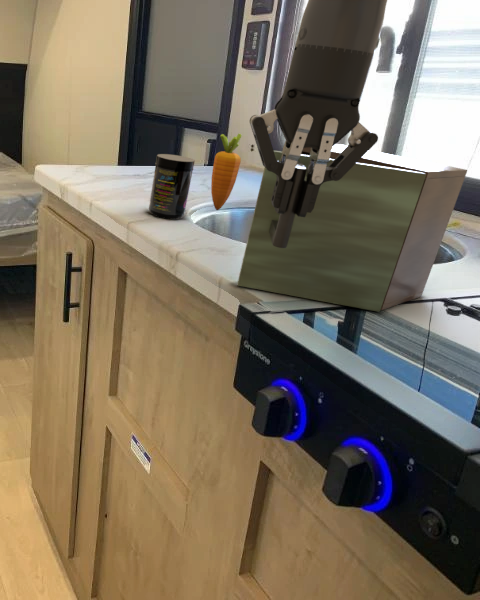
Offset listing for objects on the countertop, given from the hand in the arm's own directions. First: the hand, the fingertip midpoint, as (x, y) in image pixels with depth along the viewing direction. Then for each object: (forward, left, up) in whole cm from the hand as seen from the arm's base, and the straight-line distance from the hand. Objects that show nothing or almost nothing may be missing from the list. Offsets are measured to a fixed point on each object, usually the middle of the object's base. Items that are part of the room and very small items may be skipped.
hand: (289, 213), depth 66 cm
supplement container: (+37, -22, -12) cm, 44 cm away
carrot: (+37, -36, -12) cm, 53 cm away
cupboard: (+2, -21, -12) cm, 25 cm away
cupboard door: (-2, -7, -12) cm, 14 cm away
